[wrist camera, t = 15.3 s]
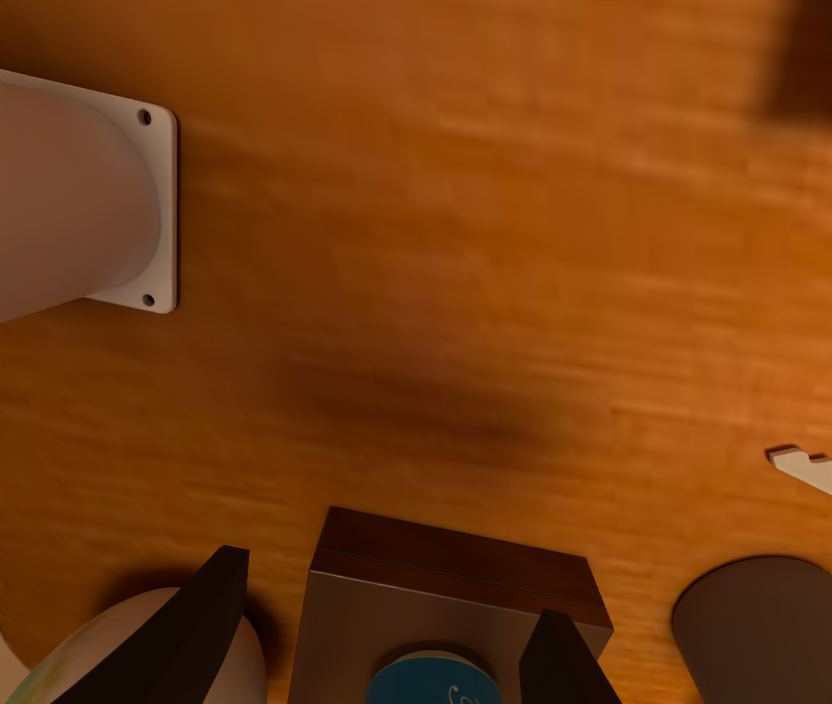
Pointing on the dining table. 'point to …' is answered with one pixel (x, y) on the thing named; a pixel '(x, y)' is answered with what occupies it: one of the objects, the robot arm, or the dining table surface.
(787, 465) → the key
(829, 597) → the mug
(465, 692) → the beverage can
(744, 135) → the dining table surface
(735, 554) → the dining table surface
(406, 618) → the shelf
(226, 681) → the decorative egg
